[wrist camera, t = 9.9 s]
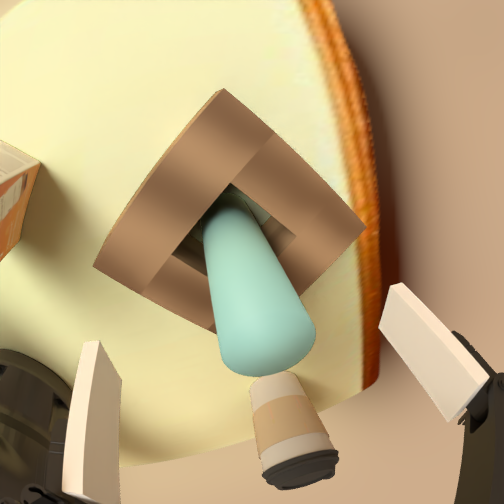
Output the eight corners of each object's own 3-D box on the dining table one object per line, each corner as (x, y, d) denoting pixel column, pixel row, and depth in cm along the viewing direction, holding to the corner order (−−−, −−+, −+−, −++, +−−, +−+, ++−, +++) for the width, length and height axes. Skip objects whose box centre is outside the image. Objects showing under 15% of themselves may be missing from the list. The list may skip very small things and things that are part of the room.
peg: (227, 247, 25) (270, 384, 13) (189, 221, 23) (200, 358, 11) (259, 212, 24) (333, 332, 12) (221, 182, 22) (269, 292, 10)
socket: (235, 310, 28) (244, 347, 24) (107, 234, 22) (92, 266, 18) (337, 203, 25) (366, 227, 21) (215, 92, 18) (224, 88, 14)
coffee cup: (237, 406, 37) (260, 500, 25) (245, 369, 33) (277, 481, 20) (296, 399, 40) (329, 484, 27) (313, 362, 35) (358, 459, 23)
